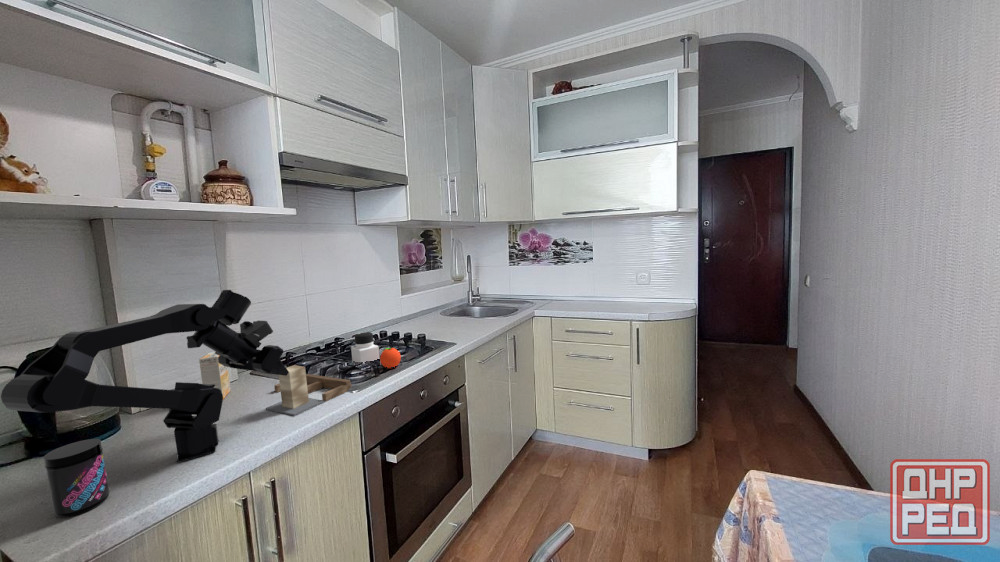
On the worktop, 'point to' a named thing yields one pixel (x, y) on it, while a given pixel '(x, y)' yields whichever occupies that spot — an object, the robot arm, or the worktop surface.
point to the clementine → (390, 357)
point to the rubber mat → (295, 411)
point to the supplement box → (214, 373)
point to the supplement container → (77, 477)
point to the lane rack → (324, 385)
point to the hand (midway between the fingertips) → (276, 372)
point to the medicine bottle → (364, 348)
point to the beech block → (294, 387)
